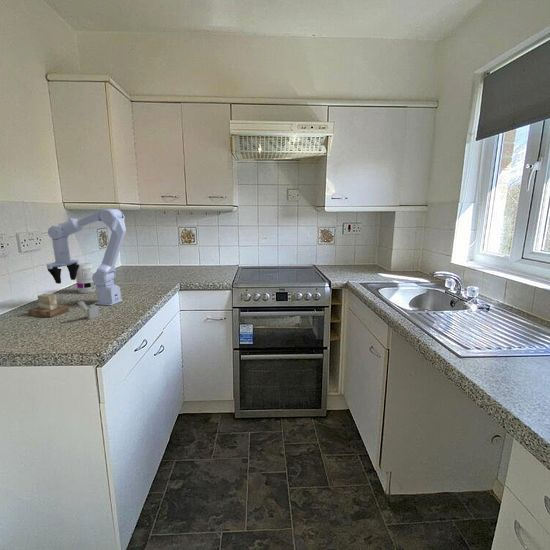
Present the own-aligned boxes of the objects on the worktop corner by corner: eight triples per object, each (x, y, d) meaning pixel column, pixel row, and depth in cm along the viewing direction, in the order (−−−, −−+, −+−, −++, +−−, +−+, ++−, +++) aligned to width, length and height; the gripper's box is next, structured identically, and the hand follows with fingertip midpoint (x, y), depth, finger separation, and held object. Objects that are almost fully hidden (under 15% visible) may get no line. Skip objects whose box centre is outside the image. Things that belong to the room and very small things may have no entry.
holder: (69, 311, 133) (68, 305, 133) (50, 317, 125) (49, 312, 125) (48, 309, 136) (47, 304, 136) (29, 315, 128) (28, 309, 128)
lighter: (96, 315, 128) (94, 296, 126) (99, 316, 127) (97, 297, 126) (80, 321, 122) (77, 301, 120) (83, 321, 121) (80, 302, 119)
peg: (47, 311, 133) (44, 293, 131) (58, 312, 132) (55, 294, 130) (40, 313, 130) (37, 295, 129) (51, 315, 129) (48, 296, 127)
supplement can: (75, 294, 161) (71, 265, 158) (81, 290, 168) (77, 263, 165) (93, 293, 163) (89, 265, 160) (97, 289, 171) (94, 262, 167)
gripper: (68, 250, 148) (72, 277, 151) (39, 254, 135) (44, 284, 137) (80, 250, 147) (84, 278, 149) (52, 254, 133) (56, 285, 136)
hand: (66, 281), depth 143 cm, fingers open, 7 cm apart
